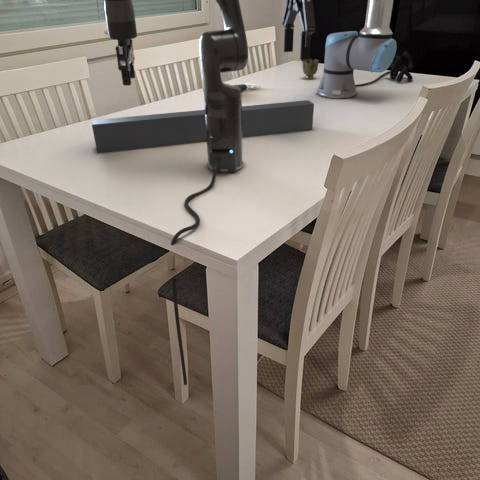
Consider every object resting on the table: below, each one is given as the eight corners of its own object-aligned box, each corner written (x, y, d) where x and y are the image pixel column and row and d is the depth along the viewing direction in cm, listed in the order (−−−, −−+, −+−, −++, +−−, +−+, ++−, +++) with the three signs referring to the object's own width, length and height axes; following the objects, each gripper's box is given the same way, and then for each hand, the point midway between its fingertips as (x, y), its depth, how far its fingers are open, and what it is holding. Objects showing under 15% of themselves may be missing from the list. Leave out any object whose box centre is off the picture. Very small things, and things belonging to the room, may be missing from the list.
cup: (298, 79, 205) (299, 60, 201) (304, 76, 210) (305, 58, 206) (314, 80, 202) (315, 62, 198) (319, 77, 207) (321, 59, 203)
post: (97, 152, 130) (91, 124, 125) (97, 147, 134) (91, 120, 129) (312, 129, 144) (314, 103, 140) (306, 125, 148) (308, 100, 144)
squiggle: (400, 92, 202) (376, 71, 205) (417, 76, 202) (392, 56, 205) (405, 81, 191) (380, 59, 194) (423, 64, 191) (397, 42, 194)
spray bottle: (204, 97, 180) (243, 86, 196) (225, 101, 174) (263, 90, 190) (204, 90, 178) (243, 79, 194) (225, 94, 172) (263, 83, 188)
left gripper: (131, 21, 113) (139, 87, 122) (138, 15, 125) (145, 75, 134) (101, 22, 113) (112, 88, 121) (110, 16, 125) (120, 76, 133)
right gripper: (332, -28, 112) (325, 62, 123) (296, -29, 133) (293, 48, 144) (304, -27, 111) (300, 63, 122) (272, -28, 131) (270, 49, 142)
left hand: (129, 81), depth 128 cm, fingers open, 8 cm apart
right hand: (296, 55), depth 133 cm, fingers open, 13 cm apart
